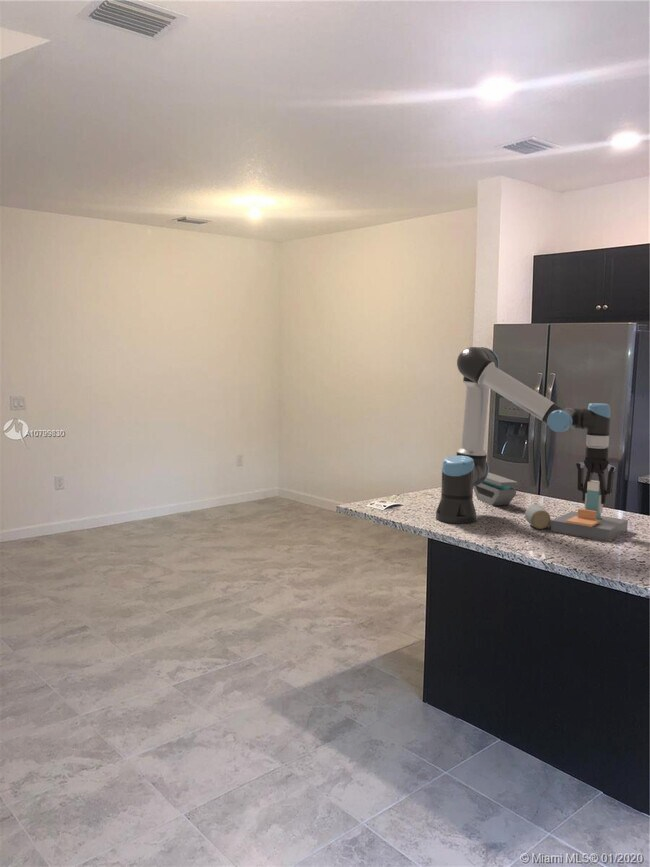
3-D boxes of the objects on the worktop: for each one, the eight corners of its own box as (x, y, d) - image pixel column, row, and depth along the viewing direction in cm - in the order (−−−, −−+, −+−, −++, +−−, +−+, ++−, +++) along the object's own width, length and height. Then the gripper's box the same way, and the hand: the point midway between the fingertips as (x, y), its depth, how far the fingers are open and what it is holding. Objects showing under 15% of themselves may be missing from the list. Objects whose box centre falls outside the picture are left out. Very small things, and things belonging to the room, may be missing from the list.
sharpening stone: (470, 496, 306) (471, 472, 305) (486, 496, 309) (487, 472, 307) (499, 509, 282) (500, 482, 281) (516, 508, 285) (518, 482, 283)
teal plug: (596, 521, 247) (599, 483, 246) (585, 520, 250) (587, 481, 248) (600, 519, 251) (602, 481, 249) (589, 518, 253) (591, 480, 252)
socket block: (609, 541, 234) (609, 529, 234) (551, 531, 247) (551, 520, 247) (627, 530, 250) (627, 519, 249) (571, 521, 262) (572, 511, 262)
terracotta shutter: (592, 526, 236) (592, 515, 236) (565, 522, 242) (566, 511, 242) (600, 522, 243) (601, 511, 243) (575, 518, 249) (575, 507, 249)
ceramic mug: (530, 529, 249) (532, 508, 248) (524, 524, 257) (525, 503, 256) (560, 530, 249) (562, 509, 248) (552, 525, 257) (554, 504, 256)
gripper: (625, 448, 245) (621, 513, 247) (576, 443, 256) (573, 506, 258) (618, 450, 239) (614, 517, 242) (569, 445, 250) (565, 509, 252)
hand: (593, 511), depth 250 cm, fingers closed on teal plug, 4 cm apart
